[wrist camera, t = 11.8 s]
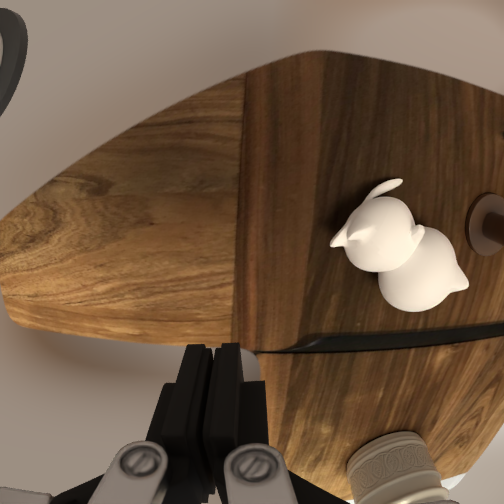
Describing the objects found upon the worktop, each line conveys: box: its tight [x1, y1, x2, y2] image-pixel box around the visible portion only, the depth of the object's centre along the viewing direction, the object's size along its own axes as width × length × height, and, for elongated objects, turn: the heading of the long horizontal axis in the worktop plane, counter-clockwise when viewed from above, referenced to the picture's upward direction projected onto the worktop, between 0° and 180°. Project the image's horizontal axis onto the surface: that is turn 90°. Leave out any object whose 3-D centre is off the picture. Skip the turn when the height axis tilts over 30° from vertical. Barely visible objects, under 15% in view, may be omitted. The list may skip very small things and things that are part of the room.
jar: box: [347, 432, 449, 504], centre depth 31 cm, size 13×13×18 cm
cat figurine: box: [330, 179, 469, 312], centre depth 26 cm, size 9×11×12 cm
